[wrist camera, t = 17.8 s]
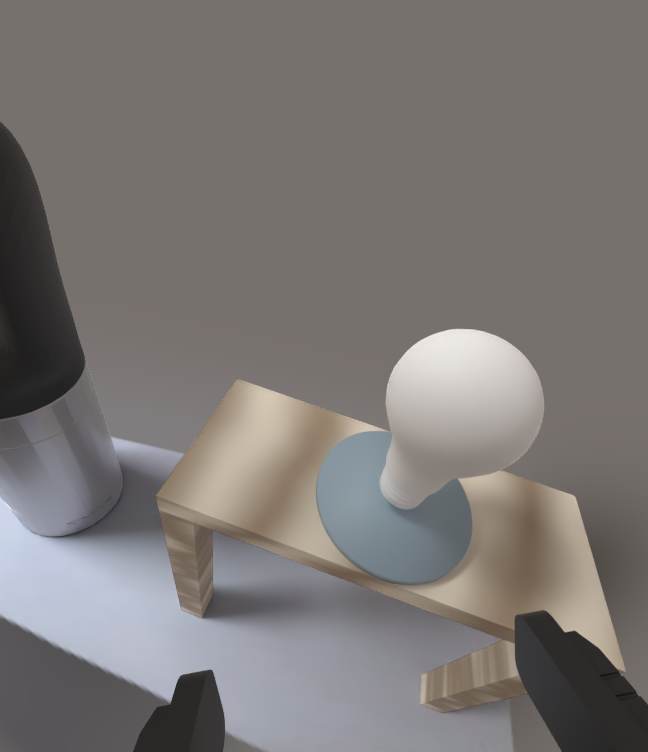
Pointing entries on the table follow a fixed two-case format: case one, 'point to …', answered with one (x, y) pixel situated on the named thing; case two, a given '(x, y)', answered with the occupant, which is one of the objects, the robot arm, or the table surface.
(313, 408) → the stool
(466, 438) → the lightbulb
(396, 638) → the table surface
